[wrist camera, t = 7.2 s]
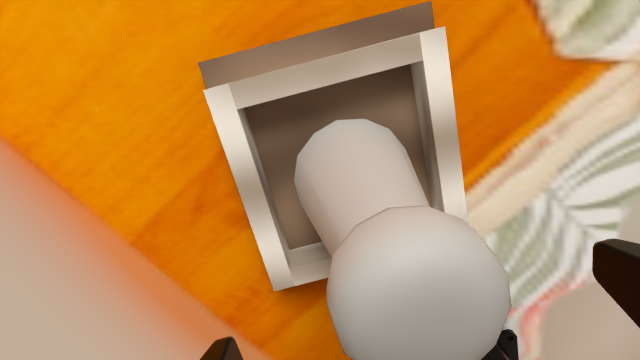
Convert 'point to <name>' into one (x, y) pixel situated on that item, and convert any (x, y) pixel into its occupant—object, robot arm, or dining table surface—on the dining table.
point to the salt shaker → (396, 253)
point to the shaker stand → (323, 109)
